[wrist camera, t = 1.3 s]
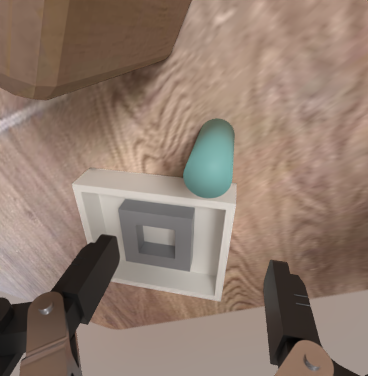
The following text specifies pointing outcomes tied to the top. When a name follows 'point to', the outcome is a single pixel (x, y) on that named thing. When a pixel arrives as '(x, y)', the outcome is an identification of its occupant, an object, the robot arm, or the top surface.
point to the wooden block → (81, 41)
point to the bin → (159, 229)
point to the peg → (211, 160)
